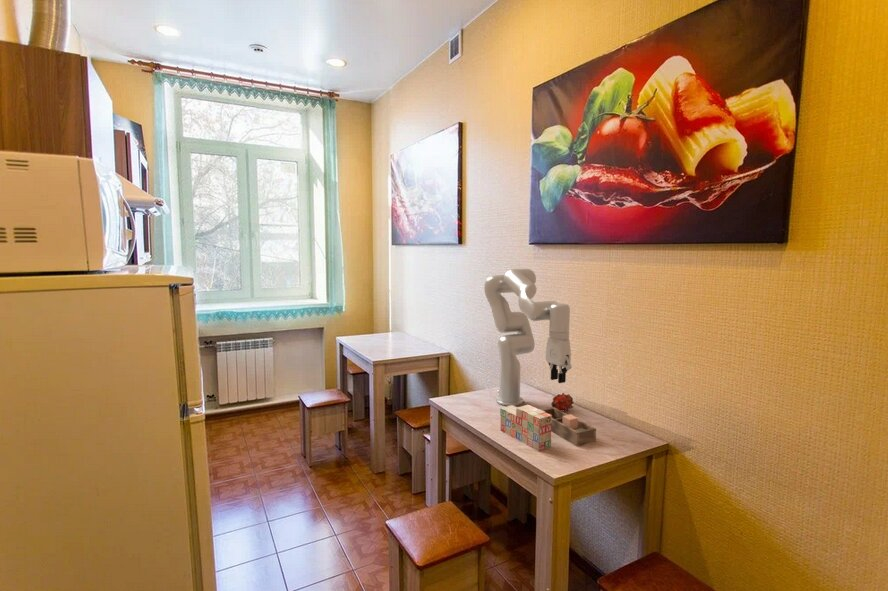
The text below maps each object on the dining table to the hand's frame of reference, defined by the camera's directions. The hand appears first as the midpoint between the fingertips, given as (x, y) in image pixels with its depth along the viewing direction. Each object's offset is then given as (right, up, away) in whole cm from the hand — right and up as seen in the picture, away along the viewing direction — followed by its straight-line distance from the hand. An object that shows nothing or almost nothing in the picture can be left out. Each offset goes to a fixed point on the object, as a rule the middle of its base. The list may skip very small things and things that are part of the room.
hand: (558, 380), depth 172 cm
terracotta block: (+3, -17, -5) cm, 18 cm away
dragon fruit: (+7, -17, +20) cm, 27 cm away
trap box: (+2, -20, -2) cm, 20 cm away
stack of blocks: (-15, -21, -8) cm, 26 cm away
